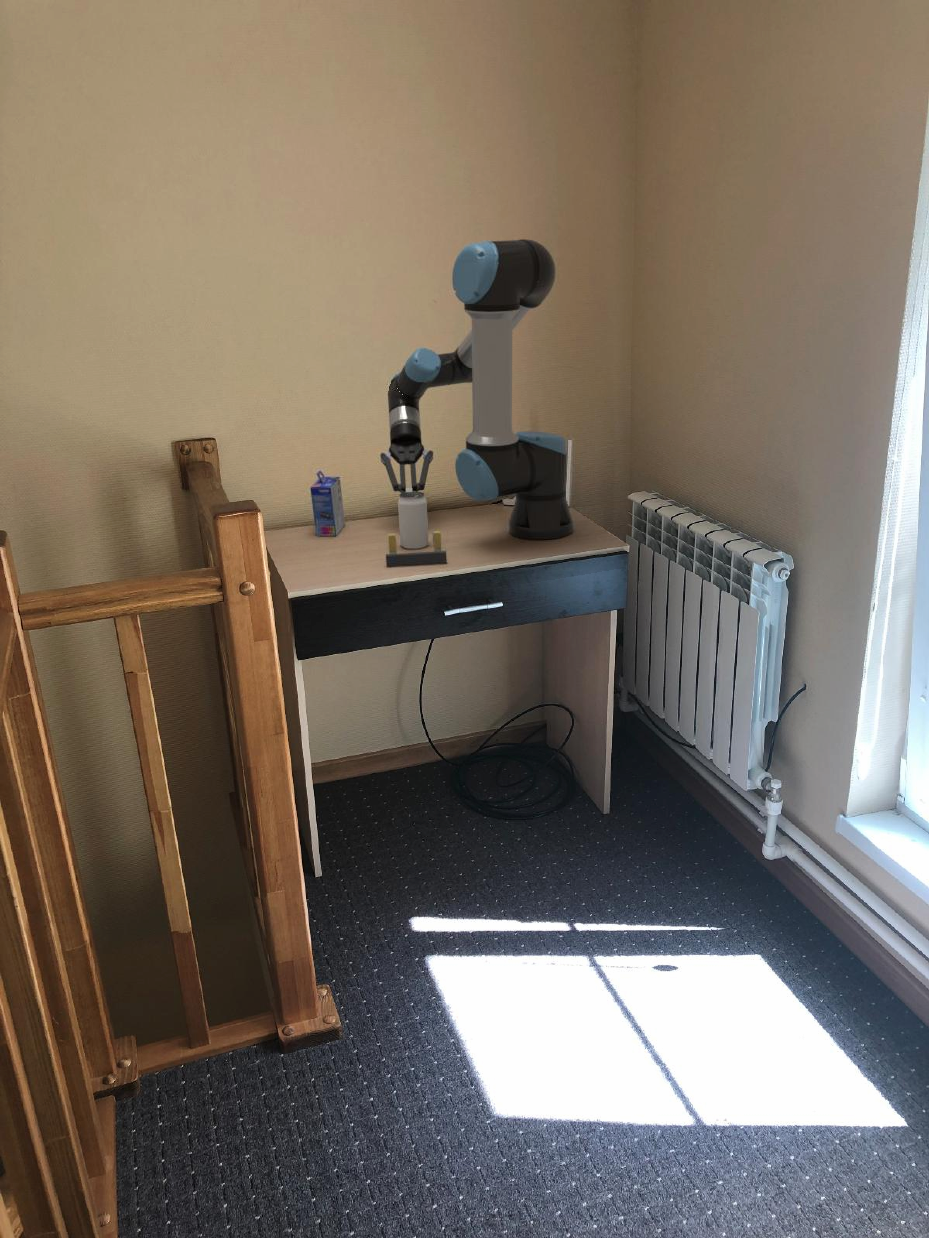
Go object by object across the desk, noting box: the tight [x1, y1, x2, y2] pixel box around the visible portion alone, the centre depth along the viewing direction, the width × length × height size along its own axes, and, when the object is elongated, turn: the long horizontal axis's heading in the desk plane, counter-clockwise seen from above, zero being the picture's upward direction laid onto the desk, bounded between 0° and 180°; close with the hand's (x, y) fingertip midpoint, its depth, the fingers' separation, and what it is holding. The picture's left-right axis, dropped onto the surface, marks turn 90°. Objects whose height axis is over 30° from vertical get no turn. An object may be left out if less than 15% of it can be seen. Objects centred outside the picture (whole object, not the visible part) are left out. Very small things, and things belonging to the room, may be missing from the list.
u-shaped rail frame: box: [385, 530, 448, 568], centre depth 229 cm, size 13×19×5 cm
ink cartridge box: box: [309, 470, 346, 537], centre depth 246 cm, size 10×6×14 cm, turn 174°
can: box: [397, 491, 430, 550], centre depth 232 cm, size 6×6×12 cm
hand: (410, 515), depth 240 cm, fingers closed
